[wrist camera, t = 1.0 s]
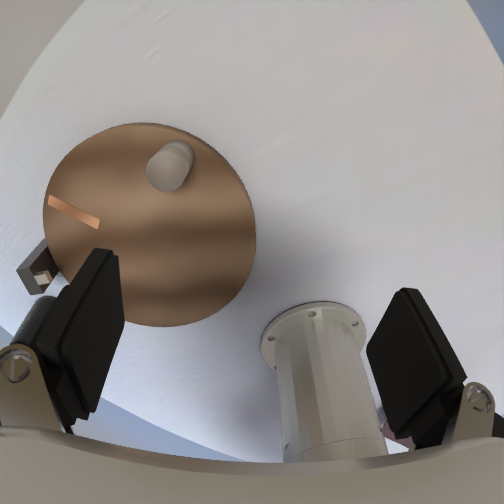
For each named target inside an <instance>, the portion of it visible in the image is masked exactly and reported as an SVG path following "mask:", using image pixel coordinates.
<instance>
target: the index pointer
mask: <svg viewBox="0 0 504 504" xmlns="http://www.w3.org/2000/svg"><path fill="white" fill-rule="evenodd" d="M16 271H17V273H18V275H19V277H20V278H21V280H22V282H23V284H24V285H25V287H26V289H27V291H28V292H29V294H30V295H35V294H42V293H44V292H45V290H46V289H47V287H48V286H49V285H50V283H51V282H52V280H53V279H54V278H55V276H56V275H57V273H58V272H59V271H60V270H59V268H58V267H57V265H56V263H55V261H54V259H53V257H52V255H51V253H50V250H49V247H48V244H47V241H46V238H44V239H43V240H42V241H41V242H40V244H39V245H38V246H37V247H36V248H35V249H34V250H33V251H32V252H31V254H30V255H29V256H28V257H27V258H26V259H25V260H24V262H23V263H22V264H21V265H20V266H19V267H18V269H17V270H16Z"/></svg>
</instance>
